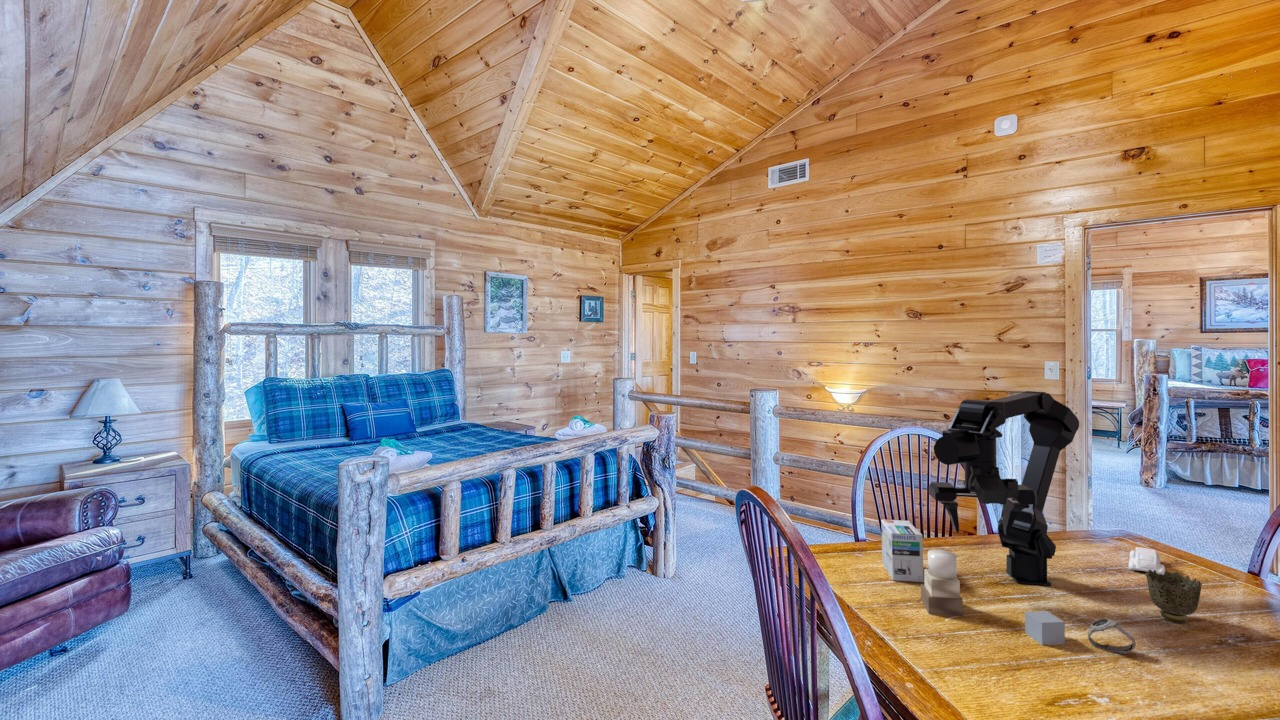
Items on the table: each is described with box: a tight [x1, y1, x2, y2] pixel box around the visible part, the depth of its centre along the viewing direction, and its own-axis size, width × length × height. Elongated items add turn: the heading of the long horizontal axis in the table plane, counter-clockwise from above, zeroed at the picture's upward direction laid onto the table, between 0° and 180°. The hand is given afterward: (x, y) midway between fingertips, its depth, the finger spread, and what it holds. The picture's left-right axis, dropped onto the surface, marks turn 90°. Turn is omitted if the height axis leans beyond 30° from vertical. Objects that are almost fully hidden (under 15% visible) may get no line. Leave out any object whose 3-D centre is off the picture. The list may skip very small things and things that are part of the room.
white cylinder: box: [927, 549, 957, 579], centre depth 109 cm, size 5×5×4 cm
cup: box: [1145, 570, 1203, 624], centre depth 102 cm, size 8×7×8 cm
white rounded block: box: [1127, 546, 1166, 575], centre depth 126 cm, size 12×6×5 cm, turn 140°
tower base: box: [920, 583, 964, 618], centre depth 109 cm, size 6×6×4 cm
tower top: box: [923, 568, 961, 599], centre depth 109 cm, size 5×5×4 cm
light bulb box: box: [880, 519, 924, 583], centre depth 126 cm, size 11×7×11 cm, turn 168°
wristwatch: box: [1087, 618, 1137, 655], centre depth 93 cm, size 4×6×5 cm, turn 51°
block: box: [1024, 610, 1066, 646], centre depth 97 cm, size 4×4×4 cm
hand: (981, 533), depth 115 cm, fingers open, 9 cm apart
